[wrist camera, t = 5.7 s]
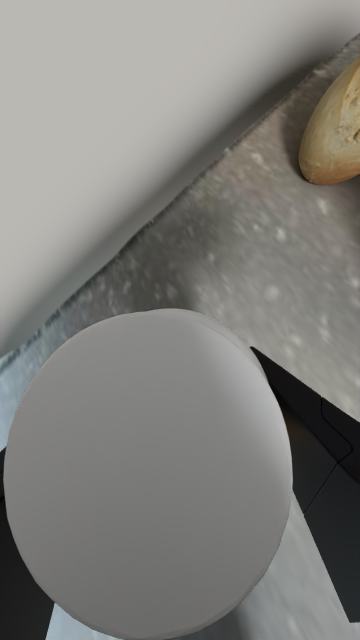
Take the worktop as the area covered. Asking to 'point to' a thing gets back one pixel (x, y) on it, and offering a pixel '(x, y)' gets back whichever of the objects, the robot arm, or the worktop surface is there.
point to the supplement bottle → (149, 474)
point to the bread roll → (334, 132)
